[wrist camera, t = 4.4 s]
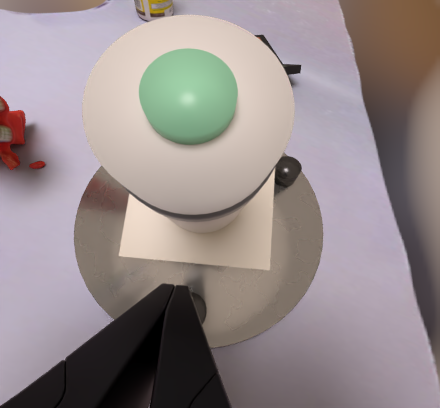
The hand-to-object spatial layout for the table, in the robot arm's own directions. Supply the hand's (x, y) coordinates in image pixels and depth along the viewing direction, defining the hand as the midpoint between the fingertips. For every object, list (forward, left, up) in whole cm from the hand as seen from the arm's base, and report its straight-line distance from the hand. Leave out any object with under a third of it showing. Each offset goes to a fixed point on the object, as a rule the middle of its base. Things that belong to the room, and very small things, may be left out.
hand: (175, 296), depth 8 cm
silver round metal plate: (+7, -4, -10) cm, 13 cm away
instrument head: (+7, -4, -7) cm, 11 cm away
